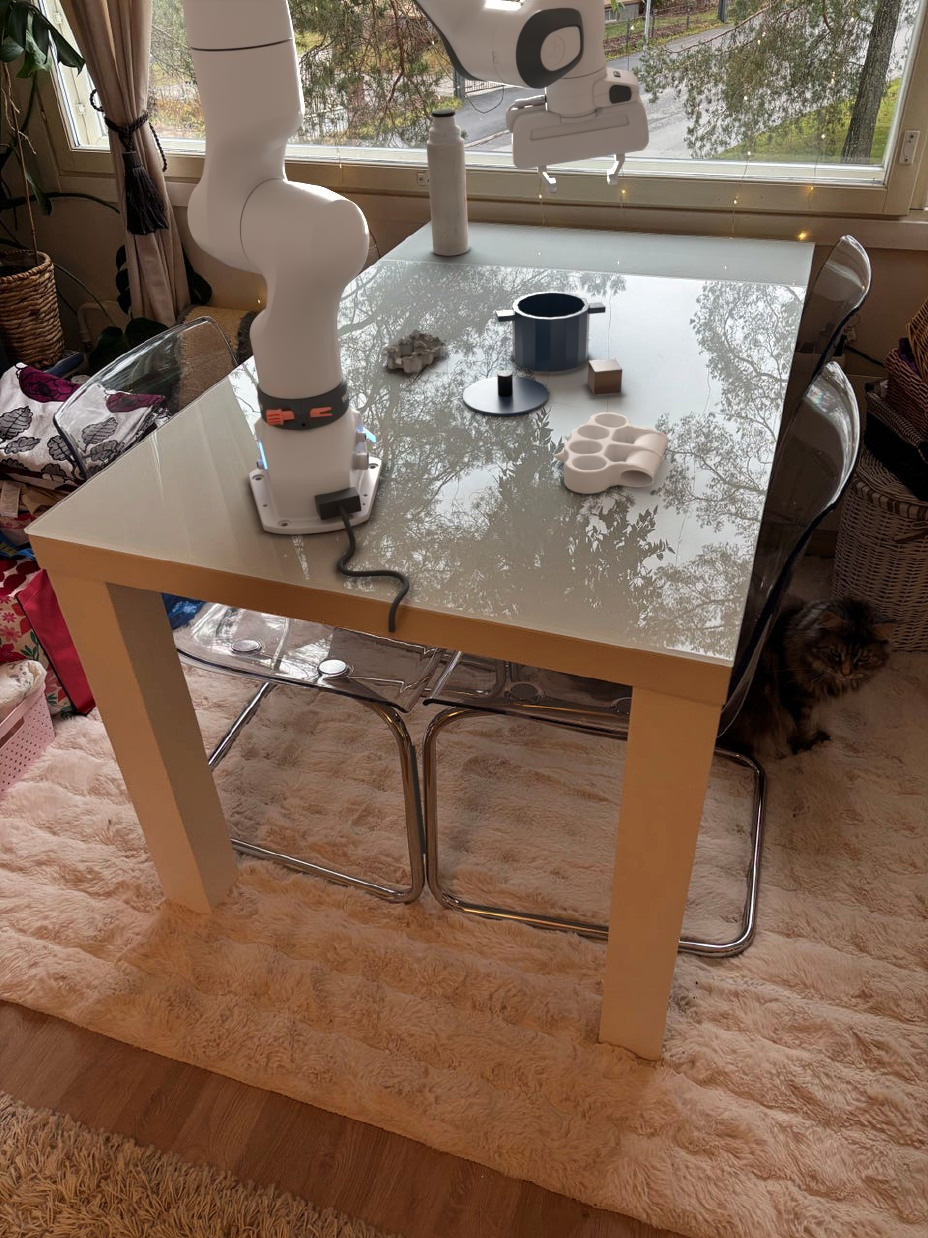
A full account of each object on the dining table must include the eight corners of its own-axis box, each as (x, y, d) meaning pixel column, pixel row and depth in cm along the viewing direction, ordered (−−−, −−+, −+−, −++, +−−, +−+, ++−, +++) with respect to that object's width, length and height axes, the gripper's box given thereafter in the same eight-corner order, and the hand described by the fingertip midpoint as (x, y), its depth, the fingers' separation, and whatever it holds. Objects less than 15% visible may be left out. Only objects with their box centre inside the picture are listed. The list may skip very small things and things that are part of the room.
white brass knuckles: (647, 503, 122) (540, 487, 127) (671, 440, 135) (573, 428, 140) (649, 481, 120) (540, 466, 124) (673, 419, 133) (574, 407, 137)
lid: (555, 415, 143) (556, 387, 140) (468, 423, 142) (467, 395, 139) (539, 378, 154) (539, 351, 151) (458, 386, 153) (456, 359, 150)
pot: (610, 369, 155) (613, 313, 149) (504, 379, 154) (503, 323, 148) (593, 340, 165) (595, 287, 159) (492, 349, 164) (491, 296, 158)
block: (620, 395, 148) (622, 369, 145) (593, 397, 147) (594, 371, 145) (613, 383, 151) (615, 357, 148) (587, 386, 151) (588, 360, 148)
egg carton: (413, 378, 156) (411, 355, 154) (379, 369, 160) (376, 346, 157) (451, 355, 163) (450, 333, 160) (417, 347, 166) (415, 324, 164)
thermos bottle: (468, 243, 212) (463, 105, 194) (468, 254, 206) (462, 112, 188) (433, 245, 212) (425, 107, 195) (432, 256, 206) (423, 114, 188)
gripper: (504, 109, 132) (515, 206, 142) (650, 85, 130) (651, 185, 140) (503, 94, 136) (514, 189, 146) (644, 70, 134) (645, 169, 144)
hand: (582, 187), depth 143 cm, fingers open, 8 cm apart
